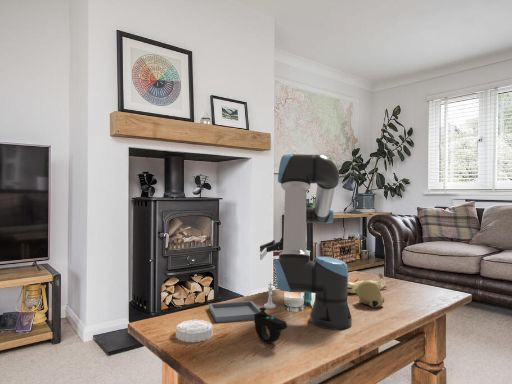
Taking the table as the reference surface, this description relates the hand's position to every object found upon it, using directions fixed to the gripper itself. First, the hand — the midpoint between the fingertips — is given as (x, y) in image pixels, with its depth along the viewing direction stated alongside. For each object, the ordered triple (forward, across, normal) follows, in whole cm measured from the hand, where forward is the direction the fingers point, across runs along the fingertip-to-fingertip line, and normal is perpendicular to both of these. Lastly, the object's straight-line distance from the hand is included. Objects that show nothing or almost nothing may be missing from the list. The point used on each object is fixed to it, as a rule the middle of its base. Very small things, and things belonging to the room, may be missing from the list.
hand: (275, 259), depth 156 cm
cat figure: (-31, -35, -26) cm, 54 cm away
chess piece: (+10, -1, -17) cm, 20 cm away
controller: (+43, -12, -7) cm, 46 cm away
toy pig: (-10, -39, -20) cm, 45 cm away
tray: (+24, +9, -14) cm, 29 cm away
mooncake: (+48, +12, -8) cm, 50 cm away
